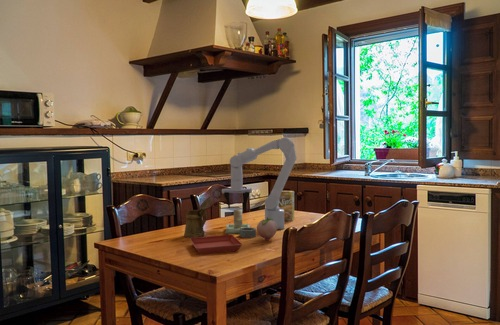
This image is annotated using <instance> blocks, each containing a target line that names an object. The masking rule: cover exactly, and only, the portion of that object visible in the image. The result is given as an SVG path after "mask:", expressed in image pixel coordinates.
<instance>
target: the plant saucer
mask: <svg viewBox="0 0 500 325" xmlns="http://www.w3.org/2000/svg"><path fill="white" fill-rule="evenodd" d="M189 240H190V242H191V243H192V245H193V246H194V248H195V250H196V251H197V252H198V254H200V255H204V254H216V253H227V252H236V251H238V250H239V249H240V248H241V247H242V246H243V243H242V242H241V241H240V240H239V239H237V237H235V236H234V235H233V234H222V235H210V236H202V237H196V238H189Z"/></svg>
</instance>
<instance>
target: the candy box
mask: <svg viewBox="0 0 500 325" xmlns="http://www.w3.org/2000/svg"><path fill="white" fill-rule="evenodd" d="M278 207H279V208H280V209H284V221H288V222H289V221H290V222H293V221H295V191H294V190H282V192H281V195H280V198H279V204H278Z"/></svg>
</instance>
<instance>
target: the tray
mask: <svg viewBox="0 0 500 325" xmlns="http://www.w3.org/2000/svg"><path fill="white" fill-rule="evenodd" d="M225 226H226V227H225V235H233V234H235V235H237V234H239V235H240V229H234V223H232V224H231V223H228V224H227V223H226V225H225ZM245 227H251V225H250V223H242V228H245Z"/></svg>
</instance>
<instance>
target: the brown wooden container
mask: <svg viewBox="0 0 500 325" xmlns="http://www.w3.org/2000/svg"><path fill="white" fill-rule="evenodd" d="M211 202H212V198H211V196H208V197H207V198H206V199H205V200H203V202H202V203H201V205H200V207H199V208H200V209H191V210H190V209H189V210H187V211H186V214H185V219H186V220H185V228H184V234H183V237H184V238H189V239H190V238H196V237H205V234H206V233H205V230H204V226H205V225H206V222H207V218H208V216H207V215H208V214H207V211H206V209H207V208H208V207H209V205H210V204H211Z"/></svg>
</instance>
